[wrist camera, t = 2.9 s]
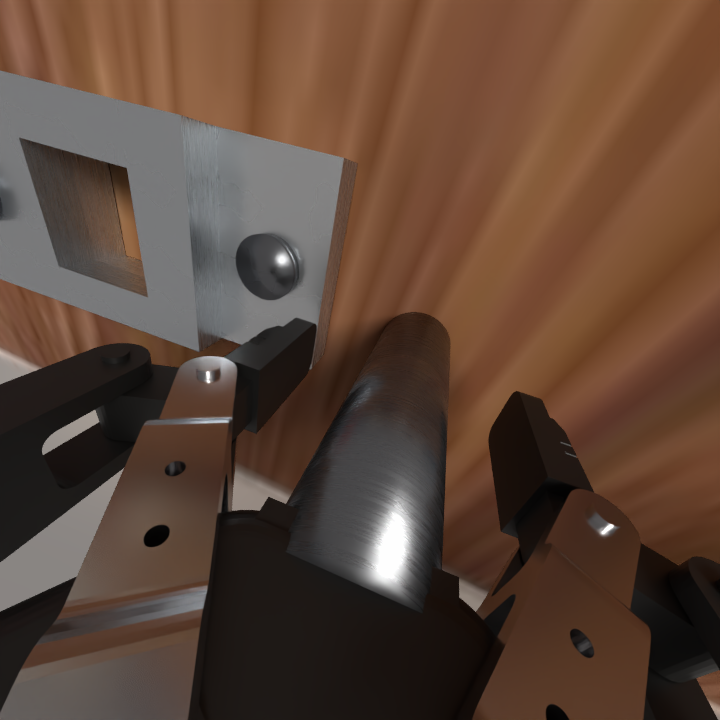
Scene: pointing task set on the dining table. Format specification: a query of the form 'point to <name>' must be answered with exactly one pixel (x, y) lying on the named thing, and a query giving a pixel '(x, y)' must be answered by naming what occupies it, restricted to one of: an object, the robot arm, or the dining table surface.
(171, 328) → the door strike plate
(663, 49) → the dining table surface
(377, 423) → the link pin
